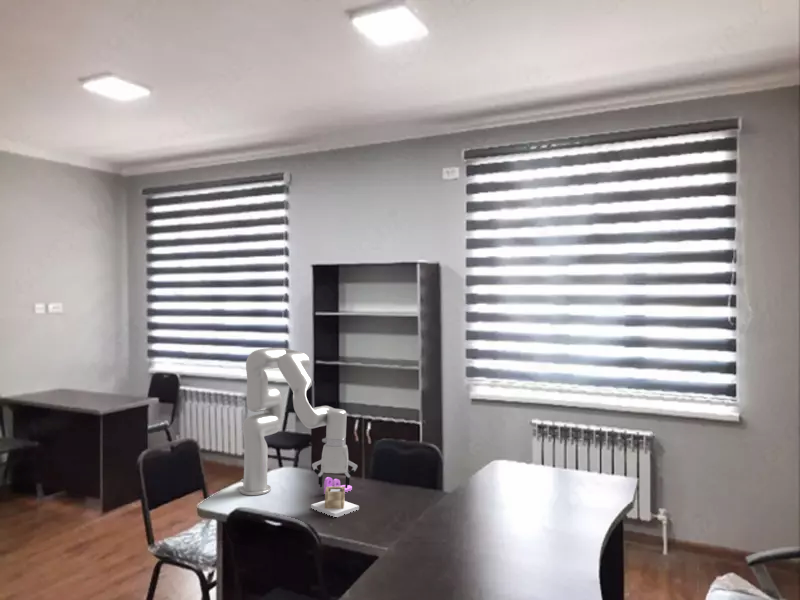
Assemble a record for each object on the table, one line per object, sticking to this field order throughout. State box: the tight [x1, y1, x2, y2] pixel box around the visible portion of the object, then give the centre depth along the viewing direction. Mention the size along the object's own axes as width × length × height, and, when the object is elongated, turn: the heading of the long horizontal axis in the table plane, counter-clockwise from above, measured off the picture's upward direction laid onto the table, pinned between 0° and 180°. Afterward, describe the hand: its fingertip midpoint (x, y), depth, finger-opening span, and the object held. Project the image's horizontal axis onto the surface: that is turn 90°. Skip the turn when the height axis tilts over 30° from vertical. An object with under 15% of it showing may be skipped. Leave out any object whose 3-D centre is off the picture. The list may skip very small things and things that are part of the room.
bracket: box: [323, 476, 353, 495], centre depth 237 cm, size 13×6×7 cm, turn 145°
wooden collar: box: [324, 487, 346, 508], centre depth 216 cm, size 7×7×6 cm
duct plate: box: [310, 489, 360, 518], centre depth 216 cm, size 14×12×7 cm
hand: (333, 486), depth 216 cm, fingers open, 9 cm apart
